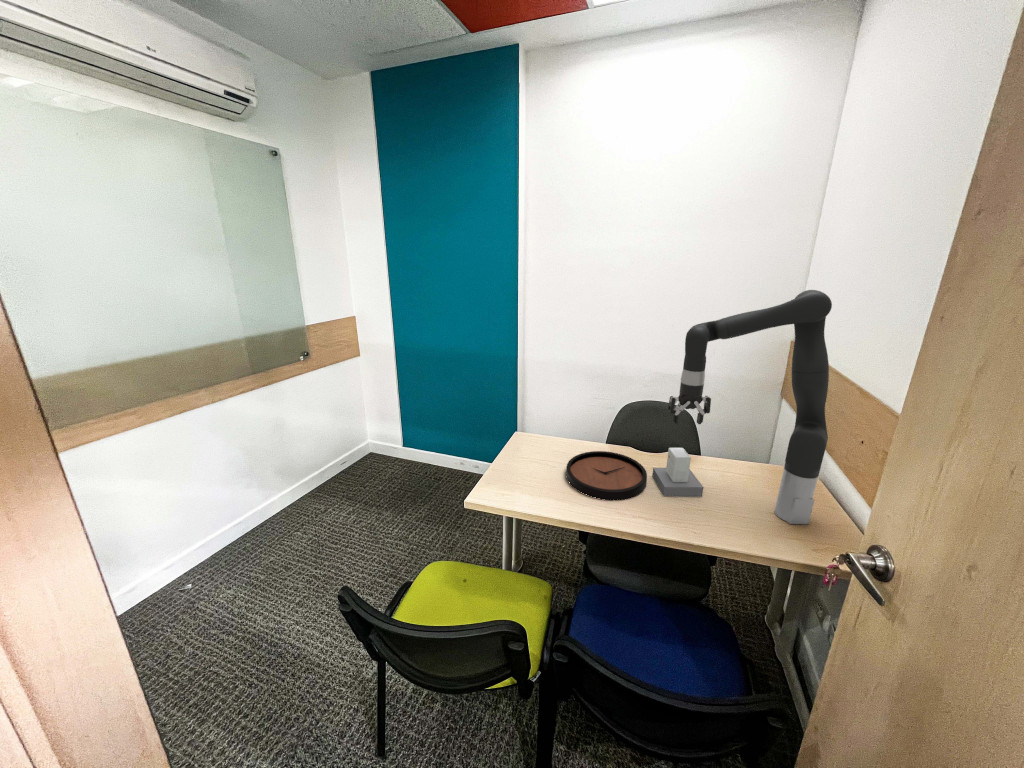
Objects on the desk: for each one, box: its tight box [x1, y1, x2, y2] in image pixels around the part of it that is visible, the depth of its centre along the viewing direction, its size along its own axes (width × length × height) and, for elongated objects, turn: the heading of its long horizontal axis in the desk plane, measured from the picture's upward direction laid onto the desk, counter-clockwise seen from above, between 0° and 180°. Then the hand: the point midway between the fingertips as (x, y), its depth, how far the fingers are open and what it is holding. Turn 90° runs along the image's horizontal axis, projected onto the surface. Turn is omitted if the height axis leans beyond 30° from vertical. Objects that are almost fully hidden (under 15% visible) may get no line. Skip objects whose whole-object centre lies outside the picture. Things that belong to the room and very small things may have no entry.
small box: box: [665, 447, 692, 482], centre depth 151 cm, size 8×6×10 cm
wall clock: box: [565, 450, 648, 501], centre depth 159 cm, size 31×4×31 cm
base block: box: [652, 467, 704, 498], centre depth 153 cm, size 14×14×4 cm
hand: (687, 423), depth 145 cm, fingers open, 8 cm apart
